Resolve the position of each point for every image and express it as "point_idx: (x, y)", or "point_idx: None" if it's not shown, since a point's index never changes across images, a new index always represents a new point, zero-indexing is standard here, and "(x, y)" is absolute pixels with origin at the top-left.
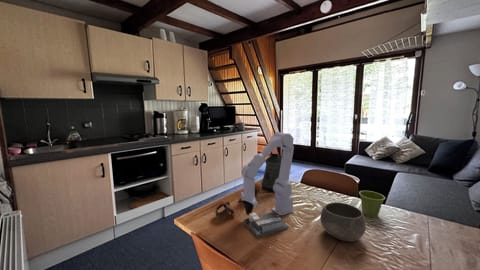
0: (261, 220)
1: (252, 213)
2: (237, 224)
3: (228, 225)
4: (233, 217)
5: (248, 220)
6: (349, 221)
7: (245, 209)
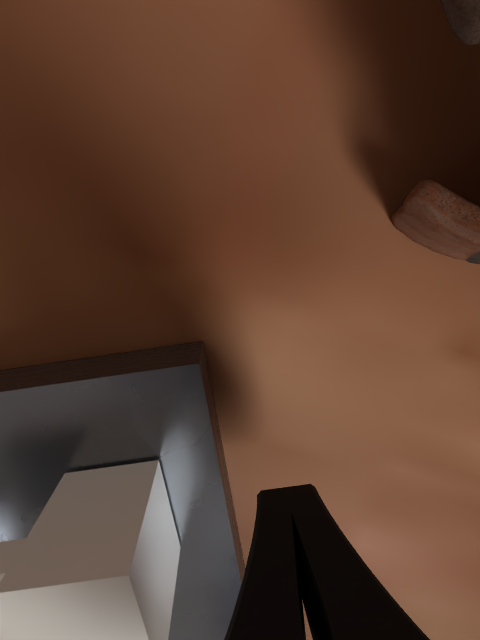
0: None
1: (119, 637)
2: (166, 219)
3: (177, 9)
4: (403, 204)
5: (140, 441)
6: None
7: (352, 564)
